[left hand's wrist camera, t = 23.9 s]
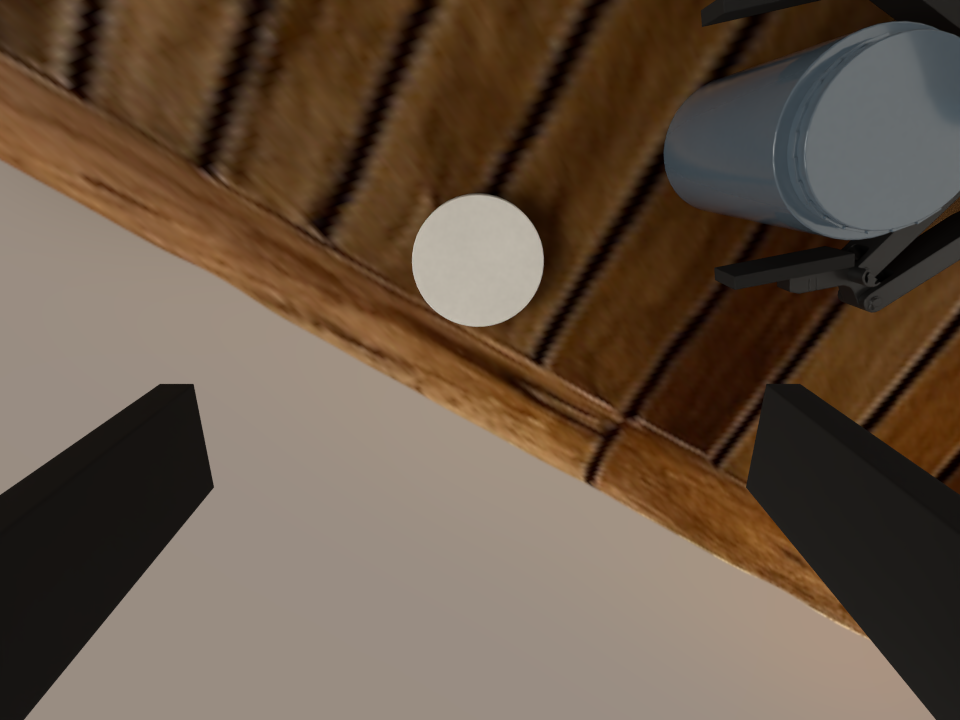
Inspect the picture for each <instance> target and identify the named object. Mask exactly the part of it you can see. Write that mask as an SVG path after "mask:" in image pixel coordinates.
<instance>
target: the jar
mask: <svg viewBox="0 0 960 720" xmlns="http://www.w3.org/2000/svg"><path fill="white" fill-rule="evenodd" d="M664 164H665V170H666V173H667V176H668V179H669V181H670V183H671V185H672V187H673V188H674V190H675V192H676V193H677V194H678V195H679V196H680V197H681V198H682V199H683V200H684V201H685V202H687V203H688V204H690V205H692V206H693V207H696V208H698V209H700V210H704V211H708V212H713V213H718V214H722V215H727V216H732V217H736V218H741V219H746V220H750V221H755V222H760V223H764V224H769V225H773V226H778V227H783V228H787V229H792V230H797V231H801V232H806V233H811V234H815V235H820V236H825V237H829V238H834V239H842V240H861V239H867V238H873V237H877V236H880V235H884V234H887V233H889V232H894V231H897V230H900V229H903V228H905V227H908V226H911V225H914V224H919V223H920V222H922V221H924V220H925V219H927V218H928V217H930V216H931V215H933V214H935V213H936V212H938V211H939V210H941V207H943V206H944V205H945V204H946V203H947V202H949V201H950V200H951V199H952V198H953V197H954V196H955V195H956V194H957V193H958V192H959V191H960V37H958V36H956V35H954V34H951V33H948V32H944V31H940V30H938V29H936V28H934V27H932V26H929V25H925V24H922V23H917V22H909V21H892V22H886V23H880V24H876V25H873V26H870V27H866V28H863V29H860V30H858V31H855V32H852V33H849V34H846V35H843V36H840V37H838V38H835V39H832V40H829V41H826V42H823V43H820V44H817V45H815V46H812V47H809V48H806V49H803V50H800V51H797V52H795V53H792V54H789V55H786V56H783V57H780V58H777V59H775V60H772V61H769V62H766V63H763V64H760V65H757V66H754V67H752V68H749V69H746V70H743V71H740V72H737V73H734V74H732V75H729V76H726V77H723V78H720V79H717V80H714V81H712V82H710V83H708V84H706V85H704V86H703V87H701V88H700V89H698V90H697V91H696V92H694V93H693V94H692V95H691V96H690V97H689V98H688V99H687V100H686V101H685V102H684V103H683V104H682V106H681V107H680V108H679V109H678V111H677V113H676V114H675V116H674V118H673V120H672V122H671V124H670V126H669V129H668V132H667V135H666V140H665V145H664Z"/></svg>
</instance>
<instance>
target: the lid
mask: <svg viewBox="0 0 960 720" xmlns="http://www.w3.org/2000/svg"><path fill="white" fill-rule="evenodd" d="M412 266H413V273H414V278H415V281H416V284H417V287H418V289H419V291H420V293H421V294H422V296H423V297H424V299H425V300H426V302H427V303H428V304H429V305H430V306H431V307H432V308H433V309H434V310H435V311H436V312H437V313H439V314H440V315H442V316H443V317H445V318H447V319H449V320H451V321H453V322H456V323H458V324H462V325H466V326H475V327H478V326H489V325H494V324H498V323H501V322H503V321H505V320H508V319H509V318H511V317H513V316H515V315H516V314H517V313H519V312H520V311H521V310H522V309H523V308H524V307H525V306H526V305H527V304H528V303H529V302H530V300H531V299H532V298H533V296H534V294H535V293H536V291H537V289H538V286H539V284H540V281H541V278H542V274H543V267H544V255H543V248H542V244H541V240H540V238H539V235H538V233H537V231H536V229H535V227H534V225H533V224H532V222H531V221H530V220H529V219H528V217H527V216H526V215H525V214H524V213H523V212H522V211H521V210H520V209H519V208H518V207H516V206H515V205H514V204H512V203H510V202H509V201H507V200H505V199H502V198H500V197H497V196H493V195H489V194H467V195H462V196H459V197H456V198H453V199H451V200H449V201H447V202H446V203H444V204H443V205H441V206H440V207H438V208H437V209H436V210H435V211H434V212H433V213H432V214H431V215H430V216H429V217H428V218H427V220H426V221H425V222H424V224H423V225H422V227H421V228H420V230H419V233H418V235H417V237H416V240H415V243H414V248H413V254H412Z"/></svg>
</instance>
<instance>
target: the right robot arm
mask: <svg viewBox="0 0 960 720" xmlns="http://www.w3.org/2000/svg"><path fill="white" fill-rule="evenodd" d="M815 1H819V0H716V1H714V2H713V3H711V4H710V5H708V6H707V7H706V8H704V9H703V10H701V17H702V27H704V26H708V25H713V24H717V23H721V22H726V21H730V20H735V19H739V18H744V17H748V16H753V15H757V14H762V13H766V12H770V11H775V10H779V9H784V8H788V7H793V6H797V5H802V4H806V3H810V2H815ZM870 1H871V2H872V3H874V4H875V5H876V6H878V7H879V8H880V9H882V10H883V11H884V12H886V13H887V14H888V15H890V16H891V17H892V18H894V19H895V20H897V21H909V22H917V23H922V24H925V25H929V26H932V27H934V28H936V29H938V30H940V31H944V32H948V33H951V34H954V35H956V36H958V37H960V0H870ZM959 197H960V191H959V192H958V193H957V194H956V195H955V196H954V197H953V198H952V199H951V200H950V201H949V202H947V203H946V204H945V205H944V206H943V207H941V210H939V211H938V212H936V213H935V214H933V215H931V216H930V217H928V218H927V219H925V220H924V221H922V222H920V223H919V224H914V225H911V226H908V227H905V228H903V229H900V230H897V231H894V232H889V233H887V234H884V235H880V236H877V237H873V238H867V239H861V240H851V241H850V242H849V243H848V244H847V245H846V246H845V247H844V248H843V249H842V250H839V249H835V248H831V247H826V246H824V247H818V248H813V249H808V250H803V251H798V252H793V253H788V254H783V255H777V256H772V257H767V258H762V259H757V260H752V261H747V262H742V263H736V264H731V265H726V266H721V267H716V268H715V280H716V281H718V282H720V283H722V284H724V285H726V286H729V287H731V288H733V289H735V290H736V289H741V288H747V287H752V286H757V285H762V284H767V283H773V282H777V287H780V288H782V289H784V290H787V291H789V292H794V293H804V292H808V291H815V290H820V289H825V288H831V287H836V286H838V287H839V291H838V298H839V299H840V301H842V302H845V303H847V304H850V305H852V306H855V307H858V308H860V309H863V310H866V311H868V312H877V311H879V310H881V309H882V308H884V307H885V306H887V305H889V304H890V303H892V302H893V301H895V300H897V299H898V298H900V297H901V296H903V295H904V294H906V293H908V292H909V291H911V290H912V289H914V288H916V287H917V286H919V285H920V284H922V283H924V282H925V281H927V280H928V279H930V278H931V277H933V276H935V275H936V274H938V273H939V272H941V271H943V270H944V269H946V268H947V267H949V266H951V265H952V264H954V263H955V262H957V261H958V260H960V211H959V212H957V213H955V214H953V215H951V216H949V217H948V218H946V219H944V220H943V221H941V222H940V223H938V224H937V225H935V226H934V227H932V228H930V229H929V230H927V231H926V232H924V233H923V234H921V233H922V232H923V231H924V230H925V229H926V228H927V227H928V226H929V225H930V224H931V223H932V222H933V221H934V220H936V219H937V218H938V217H939V216H940V215H941V214H942V213H943V212H944V211H945V210H946V209H947V208H948V207H949V206H950V205H951V204H952V203H953V202H954V201H956V200H957V199H958V198H959ZM920 234H921V235H920ZM919 235H920V236H919Z"/></svg>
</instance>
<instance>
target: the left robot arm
mask: <svg viewBox="0 0 960 720" xmlns="http://www.w3.org/2000/svg"><path fill="white" fill-rule="evenodd" d="M213 488H214V485H213V480H212V475H211V470H210V465H209V460H208V455H207V450H206V445H205V440H204V435H203V430H202V425H201V420H200V415H199V409H198V404H197V400H196V394H195V389H194V385H193V384H159V385H158V386H156V387H155V388H154V389H152V390H151V391H149V392H148V393H146V394H145V395H144V396H142V397H141V398H139V399H138V400H136V401H135V402H133V403H132V404H131V405H129V406H128V407H126V408H125V409H123V410H122V411H121V412H119V413H118V414H116V415H115V416H113V417H112V418H110V419H109V420H108V421H106V422H105V423H103V424H102V425H100V426H99V427H97V428H96V429H95V430H93V431H92V432H90V433H89V434H87V435H86V436H85V437H83V438H82V439H80V440H79V441H77V442H76V443H74V444H73V445H72V446H70V447H69V448H67V449H66V450H64V451H63V452H61V453H60V454H59V455H57V456H56V457H54V458H53V459H51V460H50V461H49V462H47V463H46V464H44V465H43V466H41V467H40V468H38V469H37V470H36V471H34V472H33V473H31V474H30V475H28V476H27V477H26V478H24V479H23V480H21V481H20V482H18V483H17V484H15V485H14V486H13V487H11V488H10V489H8V490H7V491H5V492H4V493H2V494H1V495H0V720H24V719H25V718H26V716H27V715H28V714H29V713H30V712H31V710H32V709H33V708H34V707H35V705H36V704H37V703H38V702H39V701H40V699H41V698H42V697H43V696H44V694H45V693H46V692H47V691H48V690H49V688H50V687H51V686H52V685H53V683H54V682H55V681H56V680H57V679H58V677H59V676H60V675H61V674H62V672H63V671H64V670H65V669H66V668H67V666H68V665H69V664H70V663H71V661H72V660H73V659H74V658H75V657H76V655H77V654H78V653H79V652H80V650H81V649H82V648H83V647H84V646H85V644H86V643H87V642H88V641H89V639H90V638H91V637H92V636H93V635H94V633H95V632H96V631H97V630H98V628H99V627H100V626H101V625H102V624H103V622H104V621H105V620H106V619H107V617H108V616H109V615H110V614H111V613H112V611H113V610H114V609H115V608H116V606H117V605H118V604H119V603H120V601H121V600H122V599H123V598H124V597H125V595H126V594H127V593H128V592H129V591H130V589H131V588H132V587H133V585H134V584H135V583H136V582H137V581H138V580H139V578H140V577H141V576H142V575H143V573H144V572H145V571H146V570H147V568H148V567H149V566H150V565H151V564H152V562H153V561H154V560H155V559H156V557H157V556H158V555H159V554H160V553H161V551H162V550H163V549H164V548H165V546H166V545H167V544H168V543H169V542H170V540H171V539H172V538H173V537H174V535H175V534H176V533H177V532H178V530H179V529H180V528H181V527H182V526H183V524H184V523H185V522H186V521H187V520H188V518H189V517H190V516H191V515H192V513H193V512H194V511H195V510H196V509H197V507H198V506H199V505H200V504H201V502H202V501H203V500H204V499H205V498H206V496H207V495H208V494H209V493H210V491H211V490H212V489H213ZM746 488H747V489H748V490H749V491H750V493H751V494H752V495H753V496H754V498H755V499H756V500H757V501H758V502H759V504H760V505H761V506H762V507H763V509H764V510H765V511H766V512H767V513H768V515H769V516H770V517H771V518H772V520H773V521H774V522H775V523H776V524H777V526H778V527H779V528H780V529H781V531H782V532H783V533H784V534H785V535H786V537H787V538H788V539H789V540H790V542H791V543H792V544H793V545H794V546H795V548H796V549H797V550H798V551H799V553H800V554H801V555H802V556H803V557H804V559H805V560H806V561H807V562H808V564H809V565H810V566H811V567H812V568H813V570H814V571H815V572H816V573H817V575H818V576H819V577H820V578H821V580H822V581H823V582H824V583H825V584H826V586H827V587H828V588H829V589H830V591H831V592H832V593H833V594H834V595H835V597H836V598H837V599H838V600H839V602H840V603H841V604H842V605H843V606H844V608H845V609H846V610H847V611H848V613H849V614H850V615H851V616H852V617H853V619H854V620H855V621H856V622H857V624H858V625H859V626H860V627H861V628H862V630H863V631H864V632H865V633H866V635H867V636H868V637H869V638H870V639H871V641H872V642H873V643H874V644H875V646H876V647H877V648H878V649H879V650H880V652H881V653H882V654H883V655H884V657H885V658H886V659H887V660H888V661H889V663H890V664H891V665H892V666H893V668H894V669H895V670H896V671H897V672H898V674H899V675H900V676H901V677H902V679H903V680H904V681H905V682H906V683H907V685H908V686H909V687H910V688H911V690H912V691H913V692H914V693H915V694H916V696H917V697H918V698H919V699H920V701H921V702H922V703H923V704H924V705H925V707H926V708H927V709H928V710H929V712H930V713H931V714H932V715H933V716H934V718H935V719H936V720H960V495H959V494H958V493H956V492H955V491H953V490H952V489H950V488H949V487H947V486H946V485H945V484H943V483H942V482H940V481H939V480H937V479H936V478H935V477H933V476H932V475H930V474H929V473H927V472H926V471H924V470H923V469H922V468H920V467H919V466H917V465H916V464H914V463H913V462H911V461H910V460H909V459H907V458H906V457H904V456H903V455H901V454H900V453H899V452H897V451H896V450H894V449H893V448H891V447H890V446H888V445H887V444H886V443H884V442H883V441H881V440H880V439H878V438H877V437H875V436H874V435H873V434H871V433H870V432H868V431H867V430H865V429H864V428H863V427H861V426H860V425H858V424H857V423H855V422H854V421H852V420H851V419H850V418H848V417H847V416H845V415H844V414H842V413H841V412H839V411H838V410H837V409H835V408H834V407H832V406H831V405H829V404H828V403H827V402H825V401H824V400H822V399H821V398H819V397H818V396H816V395H815V394H814V393H812V392H811V391H809V390H808V389H806V388H805V387H804V386H802V385H801V384H766V389H765V394H764V399H763V404H762V409H761V415H760V420H759V425H758V430H757V435H756V440H755V445H754V450H753V455H752V460H751V465H750V470H749V475H748V480H747V485H746Z"/></svg>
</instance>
